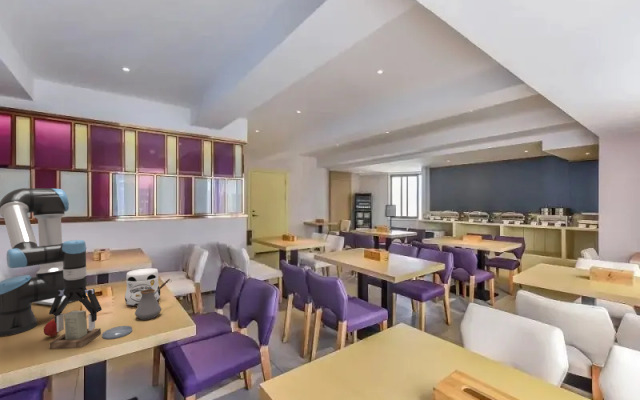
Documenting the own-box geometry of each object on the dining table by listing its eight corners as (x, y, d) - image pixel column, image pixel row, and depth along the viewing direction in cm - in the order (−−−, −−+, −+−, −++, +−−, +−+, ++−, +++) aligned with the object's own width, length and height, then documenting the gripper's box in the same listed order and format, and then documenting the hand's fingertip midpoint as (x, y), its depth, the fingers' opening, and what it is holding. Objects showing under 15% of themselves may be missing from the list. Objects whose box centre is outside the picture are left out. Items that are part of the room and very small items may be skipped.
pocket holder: (49, 349, 121) (49, 342, 121) (71, 335, 133) (71, 329, 133) (81, 347, 122) (81, 341, 122) (100, 334, 134) (100, 328, 134)
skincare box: (88, 339, 129) (87, 310, 129) (78, 344, 125) (78, 314, 125) (74, 338, 130) (73, 309, 130) (64, 343, 125) (63, 313, 125)
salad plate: (28, 305, 172) (28, 299, 172) (69, 293, 192) (69, 288, 192) (55, 309, 166) (55, 302, 166) (94, 296, 186) (94, 291, 186)
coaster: (96, 339, 128) (96, 337, 128) (112, 328, 139) (111, 326, 139) (123, 338, 129) (123, 336, 129) (137, 327, 140) (137, 325, 140)
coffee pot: (148, 322, 146) (148, 291, 146) (129, 320, 149) (128, 289, 149) (179, 306, 167) (179, 279, 166) (161, 304, 169) (161, 277, 169)
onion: (40, 341, 128) (40, 322, 128) (48, 335, 133) (48, 316, 133) (57, 339, 129) (56, 320, 129) (64, 333, 135) (64, 315, 135)
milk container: (136, 310, 161) (135, 276, 160) (118, 305, 169) (117, 273, 169) (167, 301, 176) (166, 269, 175) (149, 296, 184) (148, 266, 184)
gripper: (36, 281, 122) (37, 335, 123) (99, 279, 124) (100, 332, 124) (51, 276, 130) (52, 327, 130) (110, 274, 132) (111, 324, 132)
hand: (76, 329), depth 127 cm, fingers open, 12 cm apart
